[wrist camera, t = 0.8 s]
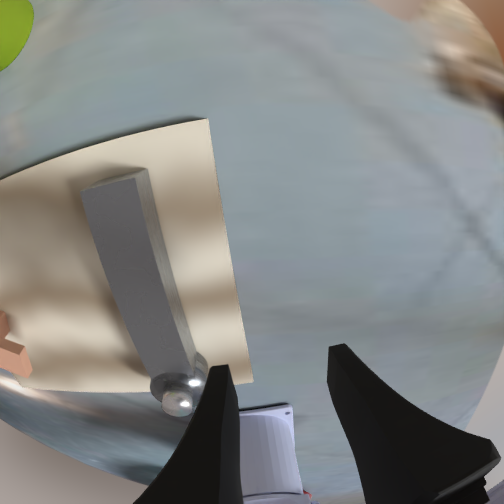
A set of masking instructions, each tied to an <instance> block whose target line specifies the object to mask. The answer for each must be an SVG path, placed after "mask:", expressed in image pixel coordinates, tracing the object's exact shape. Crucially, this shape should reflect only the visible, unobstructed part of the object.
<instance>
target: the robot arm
mask: <svg viewBox="0 0 504 504" xmlns="http://www.w3.org/2000/svg"><path fill="white" fill-rule="evenodd" d="M327 384H328V388H329V391H330V395H331V398H332V402H333V405H334V407H335V410H336V412H337V415H338V417H339V420H340V422H341V424H342V427H343V429H344V432H345V434H346V437H347V439H348V441H349V444H350V446H351V449H352V452H353V454H354V457H355V461H356V464H357V468H358V472H359V476H360V480H361V484H362V488H363V492H364V497H365V501H366V504H504V480H503V481H502V482H500V483H499V484H497V485H496V486H494V487H493V488H491V489H490V490H489V491H487V492H486V490H485V488H484V486H485V485H486V480H485V478H484V476H485V475H486V474H487V473H489V472H490V471H491V470H492V469H493V468H494V467H495V466H496V465H497V464H498V463H499V462H500V460H501V457H500V455H499V453H498V451H497V449H496V447H495V446H494V444H493V443H492V442H491V440H490V439H486V438H483V437H480V436H476V435H473V434H470V433H467V432H464V431H462V430H460V429H457V428H455V427H452V426H450V425H448V424H446V423H444V422H442V421H440V420H438V419H436V418H435V417H433V416H431V415H429V414H427V413H426V412H424V411H423V410H421V409H419V408H418V407H416V406H415V405H413V404H412V403H410V402H409V401H407V400H406V399H405V398H403V397H402V396H401V395H399V394H398V393H397V392H396V391H394V390H393V389H392V388H391V387H389V386H388V385H387V384H386V383H385V382H384V381H383V380H381V379H380V378H379V377H378V376H377V375H376V374H375V373H374V372H373V371H372V370H371V369H369V368H368V367H367V366H366V365H365V364H364V363H363V362H362V361H361V360H360V359H359V358H358V357H357V355H356V354H355V353H354V352H353V351H352V350H351V349H350V348H349V347H348V346H347V345H346V344H339V345H335V346H330V347H329V352H328V371H327ZM294 448H295V446H294V427H293V409H292V406H291V405H281V406H275V407H269V408H263V409H256V410H249V411H241V412H239V407H238V398H237V394H236V390H235V387H234V383H233V380H232V376H231V372H230V368H229V365H228V364H225V365H217V366H212V367H211V368H210V369H209V373H208V377H207V380H206V384H205V387H204V390H203V392H202V395H201V398H200V400H199V403H198V405H197V408H196V410H195V413H194V415H193V417H192V419H191V421H190V423H189V425H188V428H187V430H186V432H185V434H184V436H183V437H182V439H181V441H180V443H179V445H178V446H177V448H176V450H175V451H174V453H173V454H172V456H171V458H170V459H169V460H168V462H167V463H166V465H165V466H164V468H163V469H162V470H161V472H160V473H159V474H158V476H157V477H156V478H155V480H154V481H153V482H152V483H151V484H150V485H149V487H148V488H147V489H146V490H145V491H144V492H143V494H142V495H141V496H140V497H139V498H138V499H137V500H136V501H135V502H134V503H133V504H320V503H319V502H317V501H312V502H311V501H310V497H309V494H304V493H303V488H302V483H301V479H300V474H299V469H298V465H297V460H296V455H295V451H294Z"/></svg>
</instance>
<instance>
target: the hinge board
mask: <svg viewBox="0 0 504 504" xmlns="http://www.w3.org/2000/svg"><path fill="white" fill-rule="evenodd" d="M143 169H148V172H149V177H150V181H151V186H152V191H153V195H154V200H155V204H156V209H157V213H158V217H159V221H160V226H161V230H162V234H163V238H164V242H165V246H166V249H167V253H168V257H169V261H170V265H171V268H172V272H173V276H174V279H175V283H176V286H177V290H178V293H179V297H180V300H181V303H182V307H183V310H184V313H185V317H186V320H187V323H188V326H189V329H190V333H191V336H192V339H193V342H194V345H195V348H196V351H197V352H198V353H200V354H201V355H202V356H203V357H204V358H205V359H206V361H207V363H208V373H209V369H210V368H211V367H212V366H217V365H225V364H228V365H229V368H230V372H231V376H232V380H233V383H234V385H236V384H243V383H250V382H253V374H252V369H251V364H250V359H249V353H248V348H247V343H246V338H245V333H244V327H243V322H242V317H241V311H240V306H239V300H238V295H237V290H236V284H235V278H234V273H233V267H232V262H231V256H230V250H229V245H228V239H227V233H226V227H225V221H224V215H223V209H222V203H221V197H220V191H219V185H218V179H217V173H216V166H215V160H214V154H213V147H212V141H211V134H210V128H209V121H208V119H202V120H197V121H191V122H186V123H181V124H176V125H171V126H166V127H162V128H157V129H153V130H149V131H144V132H140V133H136V134H132V135H128V136H125V137H121V138H117V139H114V140H110V141H107V142H103V143H100V144H96V145H93V146H90V147H87V148H83V149H80V150H77V151H74V152H71V153H68V154H65V155H62V156H60V157H57V158H54V159H51V160H49V161H46V162H43V163H41V164H38V165H35V166H33V167H30V168H28V169H25V170H23V171H21V172H18V173H16V174H13V175H11V176H9V177H7V178H4V179H2V180H0V310H1V311H4V312H5V314H6V318H7V321H8V325H9V328H10V332H9V333H8V334H7V336H6V337H5V339H7V340H10V341H13V342H15V343H18V344H21V345H24V346H25V348H26V351H27V354H28V357H29V360H30V363H31V366H32V369H33V370H32V372H31V374H30V376H29V377H28V378H25V377H22V376H20V375H17V374H15V373H12V372H11V373H12V374H13V376H14V377H15V378H16V380H17V381H18V382H19V384H20V385H21V386H22V387H25V388H34V389H45V390H58V391H75V392H151V391H150V382H151V378H150V376H149V374H148V372H147V370H146V368H145V366H144V364H143V362H142V360H141V358H140V356H139V354H138V352H137V350H136V348H135V345H134V343H133V341H132V339H131V337H130V334H129V332H128V330H127V328H126V325H125V323H124V321H123V318H122V316H121V314H120V311H119V309H118V306H117V304H116V301H115V299H114V296H113V294H112V291H111V288H110V286H109V283H108V280H107V278H106V275H105V272H104V269H103V267H102V264H101V261H100V258H99V255H98V252H97V249H96V246H95V243H94V240H93V236H92V233H91V230H90V227H89V223H88V220H87V216H86V213H85V209H84V206H83V202H82V198H81V194H80V191H81V190H83V189H85V188H86V187H88V186H90V185H91V184H93V183H95V182H97V181H98V180H102V179H106V178H110V177H114V176H118V175H122V174H126V173H130V172H134V171H139V170H143Z"/></svg>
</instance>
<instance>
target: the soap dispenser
mask: <svg viewBox="0 0 504 504" xmlns="http://www.w3.org/2000/svg"><path fill="white" fill-rule="evenodd" d="M33 19H34V12H33V7H32V5H31V3H30V2H29V1H28V0H0V71H2V70H3V69H5V68H6V67H7V66H8V65H9V64H11V63H12V62H13V60H14V59H15V58H16V57H17V56H18V54H19V53H20V51H21V50H22V48H23V47H24V45H25V43H26V41H27V39H28V37H29V34H30V32H31V29H32V25H33Z"/></svg>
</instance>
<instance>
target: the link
mask: <svg viewBox="0 0 504 504" xmlns="http://www.w3.org/2000/svg"><path fill="white" fill-rule="evenodd" d="M80 194H81V198H82V202H83V206H84V209H85V213H86V216H87V220H88V223H89V227H90V230H91V233H92V236H93V240H94V243H95V246H96V249H97V252H98V255H99V258H100V261H101V264H102V267H103V269H104V272H105V275H106V278H107V280H108V283H109V286H110V288H111V291H112V294H113V296H114V299H115V301H116V304H117V306H118V309H119V311H120V314H121V316H122V318H123V321H124V323H125V325H126V328H127V330H128V332H129V334H130V337H131V339H132V341H133V343H134V345H135V348H136V350H137V352H138V354H139V356H140V358H141V360H142V362H143V364H144V366H145V368H146V370H147V372H148V374H149V376H150V378H151V382H150V391H151V393H152V395H153V396H154V397H155V398H156V399H157V400H159V401H160V402H162V409H163V411H164V412H166V413H167V414H169V415H172V416H176V417H183V416H187V415H189V414H190V413H191V412H192V407H195V406H197V405H198V403H199V400H200V398H201V395H202V392H203V390H204V387H205V384H206V380H207V377H208V363H207V361H206V359H205V358H204V357H203V356H202V355H201V354H200V353H198V352H197V351H196V348H195V345H194V342H193V339H192V336H191V333H190V329H189V326H188V323H187V320H186V317H185V313H184V310H183V307H182V303H181V300H180V297H179V293H178V290H177V286H176V283H175V279H174V276H173V272H172V268H171V265H170V261H169V257H168V253H167V249H166V246H165V242H164V238H163V234H162V230H161V226H160V221H159V217H158V213H157V209H156V204H155V200H154V195H153V191H152V186H151V181H150V177H149V172H148V169H143V170H139V171H134V172H130V173H126V174H122V175H118V176H114V177H110V178H106V179H102V180H98V181H97V182H95V183H93V184H91V185H90V186H88V187H86V188H85V189H83V190H81V191H80Z"/></svg>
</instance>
